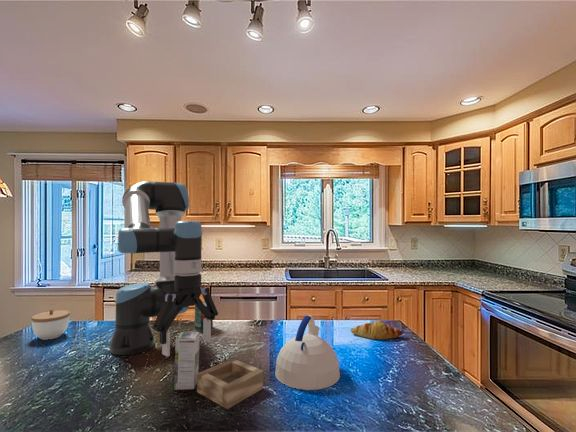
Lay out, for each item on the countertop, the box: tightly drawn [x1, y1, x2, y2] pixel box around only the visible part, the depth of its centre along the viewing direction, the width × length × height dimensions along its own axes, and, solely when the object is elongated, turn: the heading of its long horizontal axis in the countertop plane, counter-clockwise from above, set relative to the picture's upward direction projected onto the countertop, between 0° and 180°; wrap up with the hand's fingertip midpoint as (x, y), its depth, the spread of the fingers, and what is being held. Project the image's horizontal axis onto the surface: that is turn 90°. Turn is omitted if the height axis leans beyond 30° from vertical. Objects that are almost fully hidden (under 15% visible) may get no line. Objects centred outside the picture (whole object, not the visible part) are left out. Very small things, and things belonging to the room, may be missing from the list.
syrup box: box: [173, 331, 200, 391], centre depth 92 cm, size 6×6×14 cm
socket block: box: [196, 358, 264, 410], centre depth 89 cm, size 13×13×5 cm
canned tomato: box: [194, 301, 214, 332], centre depth 141 cm, size 8×8×11 cm
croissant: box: [350, 319, 404, 340], centre depth 133 cm, size 21×10×8 cm, turn 81°
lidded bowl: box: [31, 309, 71, 341], centre depth 130 cm, size 13×13×11 cm
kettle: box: [274, 314, 341, 391], centre depth 100 cm, size 20×21×18 cm
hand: (187, 347), depth 92 cm, fingers open, 13 cm apart
